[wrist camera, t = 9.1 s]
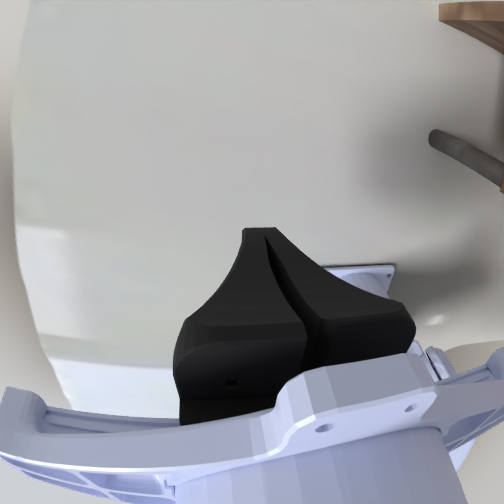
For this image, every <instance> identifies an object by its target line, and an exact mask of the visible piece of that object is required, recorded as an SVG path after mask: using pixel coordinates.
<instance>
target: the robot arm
mask: <svg viewBox="0 0 504 504" xmlns="http://www.w3.org/2000/svg"><path fill="white" fill-rule="evenodd" d="M394 272H395V268H394V266H393V265H377V266H357V267H337V268H322V267H321V266H319V265H318V264H317V263H315V262H314V261H313V260H311V259H310V258H309V257H308V256H306V255H305V254H304V253H303V252H302V251H300V250H299V249H298V248H297V247H296V246H295V245H294V244H293V243H291V242H290V241H289V240H288V239H287V238H286V237H285V236H284V235H283V234H282V233H281V232H280V231H279V230H278V229H277V228H276V227H270V228H244V229H243V230H242V243H241V246H240V249H239V252H238V255H237V257H236V260H235V262H234V264H233V266H232V268H231V270H230V272H229V273H228V275H227V277H226V278H225V280H224V281H223V283H222V284H221V285H220V287H219V288H218V289H217V291H216V292H215V293H214V294H213V295H212V296H211V297H210V298H209V299H208V300H207V302H206V303H205V304H204V305H203V306H202V307H200V308H199V309H198V310H197V311H196V312H194V313H193V314H192V315H191V316H189V317H188V318H187V319H185V321H184V323H183V326H182V328H181V331H180V333H179V336H178V339H177V342H176V346H175V350H174V356H173V377H174V380H175V384H176V387H177V391H178V394H179V398H180V410H179V419H170V418H144V417H129V416H116V415H106V414H97V413H89V412H81V411H74V410H67V409H62V408H55V407H50V406H47V405H46V404H45V402H44V400H43V399H42V398H41V397H40V396H39V395H37V394H36V393H34V392H31V391H28V390H23V389H18V388H13V387H6V389H5V392H4V395H3V398H2V401H1V404H0V458H1V459H2V460H4V461H5V462H6V463H8V464H9V465H11V466H12V467H14V468H15V469H17V470H18V471H20V472H21V473H23V474H24V475H26V476H28V477H30V478H33V479H36V480H39V481H42V482H45V483H49V484H52V485H56V486H59V487H62V488H66V489H69V490H73V491H77V492H80V493H84V494H88V495H92V496H96V497H101V498H105V499H110V500H114V501H120V502H125V503H130V504H468V503H467V500H466V498H465V495H464V492H463V489H462V486H461V484H460V481H459V478H458V476H457V472H458V470H459V468H460V467H461V465H462V463H463V461H464V460H465V458H466V457H467V455H468V453H469V451H470V450H471V448H472V446H473V444H474V442H475V440H476V438H477V437H478V436H479V435H481V434H483V433H485V432H486V431H488V430H489V429H491V428H493V427H495V426H496V425H498V424H499V423H501V422H503V421H504V347H502V348H500V349H498V350H496V351H495V352H494V353H493V354H492V355H491V356H490V358H489V359H488V360H487V362H486V364H484V365H481V366H479V367H476V368H474V369H471V370H468V371H465V372H463V373H460V374H457V373H456V372H455V370H454V368H453V366H452V364H451V363H450V361H449V359H448V358H447V356H446V355H445V354H444V352H443V351H442V350H441V349H438V348H434V347H432V346H430V347H429V348H427V349H426V350H425V352H426V354H427V356H428V358H429V360H430V362H429V360H428V359H427V357H426V355H425V354H424V352H423V350H422V348H421V346H420V345H419V343H418V341H415V340H414V337H415V334H416V326H415V323H414V321H413V319H412V318H411V316H410V315H409V313H408V311H407V310H406V308H405V307H404V305H403V304H402V303H401V302H397V301H394V300H391V299H390V298H389V296H388V294H387V291H388V288H389V286H390V283H391V280H392V277H393V274H394ZM388 274H389V275H388ZM430 363H431V364H430ZM431 365H432V366H431Z"/></svg>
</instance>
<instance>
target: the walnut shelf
mask: <svg viewBox="0 0 504 504" xmlns="http://www.w3.org/2000/svg"><path fill="white" fill-rule="evenodd" d="M439 21H441V22H444V23H446V24H448V25H450V26H452V27H454V28H456V29H459V30H461V31H463V32H465V33H467V34H469V35H470V36H472V37H474V38H476V39H478V40H480V41H482V42H484V43H485V44H487V45H489V46H491V47H492V48H494V49H496V50H497V51H499V52H501V53H502V54H504V2H502V1H481V2H459V3H446V4H439ZM429 144H430V145H431V146H432V147H434V148H436V149H437V150H439V151H441V152H443V153H445V154H447V155H448V156H450V157H452V158H454V159H455V160H457V161H459V162H461V163H462V164H464V165H466V166H467V167H469V168H471V169H472V170H474V171H476V172H477V173H479V174H480V175H482V176H484V177H485V178H487V179H488V180H490V181H491V182H493V183H494V184H496V185H497V186H499V187H500V192H502V193H503V194H504V163H503V162H501V161H499V160H498V159H496V158H494V157H492V156H490V155H488V154H487V153H485V152H483V151H481V150H479V149H477V148H475V147H473V146H471V145H469V144H467V143H465V142H463V141H461V140H459V139H457V138H455V137H453V136H450V135H448V134H446V133H444V132H442V131H439V130H433V131H432V132H431V133H430V135H429Z"/></svg>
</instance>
